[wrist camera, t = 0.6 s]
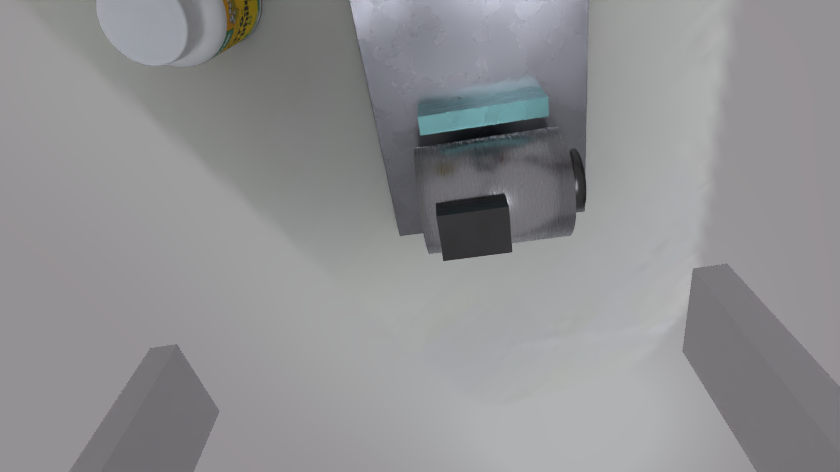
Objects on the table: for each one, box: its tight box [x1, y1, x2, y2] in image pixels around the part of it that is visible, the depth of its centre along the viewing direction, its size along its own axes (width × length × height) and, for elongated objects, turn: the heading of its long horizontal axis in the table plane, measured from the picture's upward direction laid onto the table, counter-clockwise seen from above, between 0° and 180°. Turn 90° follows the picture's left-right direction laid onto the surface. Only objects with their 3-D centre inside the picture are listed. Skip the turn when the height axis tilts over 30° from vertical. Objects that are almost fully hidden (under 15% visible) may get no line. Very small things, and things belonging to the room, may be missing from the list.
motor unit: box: [350, 0, 589, 261], centre depth 29 cm, size 18×14×10 cm
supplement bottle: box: [96, 0, 261, 67], centre depth 26 cm, size 5×5×10 cm
